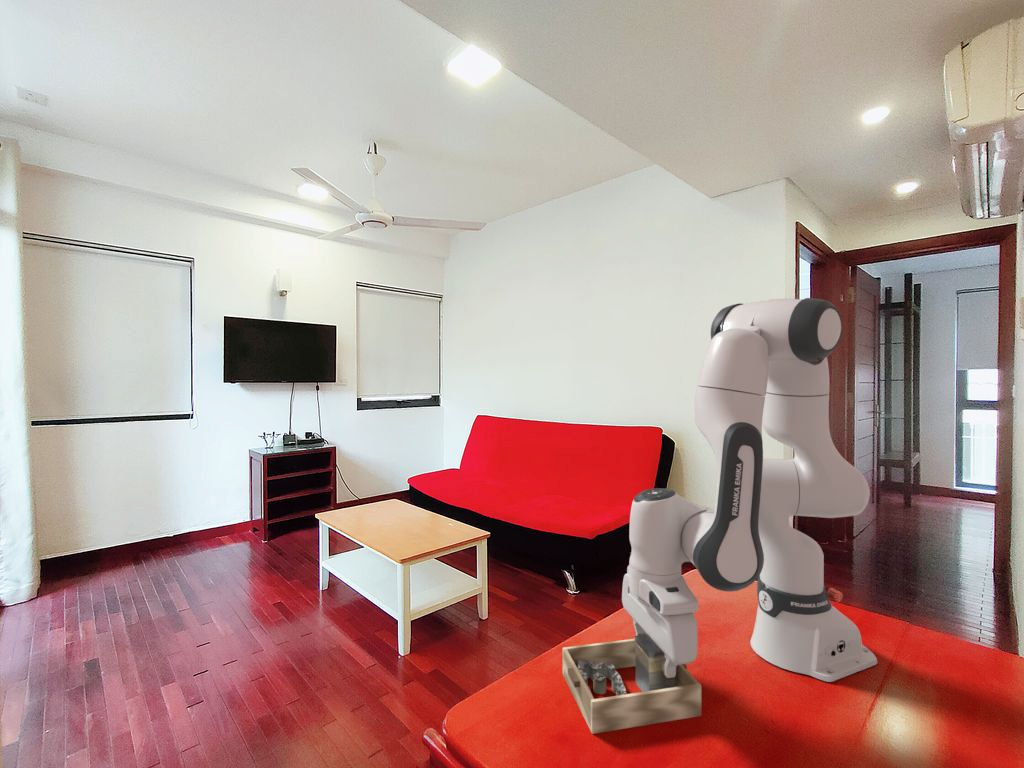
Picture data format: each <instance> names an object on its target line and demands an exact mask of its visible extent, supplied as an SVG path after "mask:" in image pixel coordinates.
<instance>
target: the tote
mask: <svg viewBox="0 0 1024 768" xmlns="http://www.w3.org/2000/svg"><path fill="white" fill-rule="evenodd" d="M635 642H636V641H635V638H630V639H623V640H613V641H606V642H597V643H589V644H581V645H573V646H566V647H565V646H563V647H562V675H563V678H564V679H565V682H566V683H567V686H568V688H569V690H570V692H571V694H572V695H573V699H574V700H575V702H576V704H577V707H578V708H579V710H580V712H581V715H582V717H583V718H584V720H585V722H586V724H587V726H588V728H589V731H590V733H591V734H592V735H594V734H600V733H606V732H611V731H612V732H613V731H619V730H623V729H630V728H636V727H643V726H648V725H654V724H660V723H667V722H673V721H678V720H685V719H691V718H696V717H702V685H701V683H699V681H698V680H697V679H696V678H695V677H694V676H693V675H692V674H691V672H689V671H688V670H687V665H686V664H681V665H677V667H676V676H675V687H672V688H665V689H659V690H652V691H645V692H642V691H641V692H640V691H639V692H634V693H627V694H625V695H619V696H616V695H613V696H606V697H601V698H600V697H599V698H594V696H593V694H592V691H591V689H590V690H589V689H588V687H587V685H588V684H587V685H586V683H585V681H584V679H583V678H582V676H581V674H580V672H579V670H578V660H580V661H583V662H586V663H588V662H589V661H590V662H593V663H594V662H596V663H602V662H604V664H605V665H606V666H609V665H610V664H613V665H614V667H615V670H618V669H624V668H631V667H636V655H635ZM590 691H591V692H590Z"/></svg>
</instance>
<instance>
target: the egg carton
mask: <svg viewBox="0 0 1024 768" xmlns="http://www.w3.org/2000/svg"><path fill="white" fill-rule="evenodd" d="M578 670H579V672H580V674H581V676H582V678H583V679H584V681H585V683H586V685H587V687H588V689H589V690H590V692H591V693H592V691H591V686H589V684H588V683H589V682H588V679H590V680H591V681H592V685H593V686H592V689H593V692H594V693H595V694H598V695H605V694H606V693H607V679H608V680H609V681H611V690H612V692H613V693H615V694H616V695H615V696H619V695H625V694H628V693H627V689H626V686H625V685H624V682H623V680H622V677H621V675H620V674H619V672H618V671H617V670H616V669H615V667H614V665H613V664H610V665H609V666H606V665H605V664H604V662H602V663H596V662H594V663H593V662H590V661H589V662H588V663H586V662H583V661H580V660H578Z"/></svg>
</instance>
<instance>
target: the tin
mask: <svg viewBox="0 0 1024 768" xmlns="http://www.w3.org/2000/svg"><path fill="white" fill-rule="evenodd" d="M646 634H647V633H646ZM634 639H635V641H636V642H635V655H636V666H635V684H636V685H637V687H638V688H639V689H640V690H641V692H645V691H652V690H659V689H665V688H672V687H675V677H672V678H667V677H666V676H665V674H664V673H663V672H662V663H663V662H666V658H665V653H664V652H663V651H662V650H661V649H660V648H659V646H658V645H657V644H656V643H655V642H654V641H653V640H652V639H651V638H650V636H649V635H648V634H647V635H639V636H636V635H635V636H634Z"/></svg>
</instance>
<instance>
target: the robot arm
mask: <svg viewBox="0 0 1024 768" xmlns="http://www.w3.org/2000/svg"><path fill="white" fill-rule="evenodd" d="M842 334H843V320H842V316H841V314H840V311H839V310H838V309H837V307H836V306H835V304H833V303H832V302H831V301H829V300H825V299H821V298H813V297H812V298H811V297H806V298H804V299H800V298H773V299H771V298H770V299H767V300H763V301H762V300H761V301H760V300H759V301H754V302H748V303H742V302H741V303H735V304H731V305H728V306H725V307H723V308H722V309H721V310H719V311H718V312H717V314H716V316H715V317H714V319H713V321H712V323H711V327H710V342H709V345H708V347H707V349H706V352H705V355H704V358H703V361H702V363H701V368H700V372H699V375H698V381H697V385H696V386H697V387H696V392H695V397H694V422H695V425H696V426H697V429H698V430H699V432H700V433H701V434H702V436H703V437H704V438H705V440H706V441H707V442H708V444H709V446H710V447H711V450H712V451H713V454H714V456H715V460H716V464H717V465H716V466H717V478H716V488H715V489H716V490H715V499H714V509H713V508H711V507H708V506H705V505H701V504H698V503H694V502H693V501H690V500H689V499H686V498H684V497H683V496H682V495H679V494H678V493H677V492H676V491H675V490H673V489H670V488H659V487H655V488H649V489H644V490H643V491H641V492H639V493H637V494H636V495H635V496H634V498H633V500H632V502H631V506H630V507H631V508H630V514H629V527H628V528H629V530H628V531H629V532H628V533H629V535H628V537H629V538H628V539H629V544H630V546H631V550H630V551H631V552H630V555H629V562H628V563H629V564H628V565H627V568H626V572H627V573H625V574H624V575H623V579H622V589H621V590H622V591H621V603H622V606H623V607H622V608H623V609H624V610H625V611H626V612H627V613H628V614H629V615H630V617H632V623H633V627H634V631H635V636H639V635H647V634H648V635H649V636H650V638H651V639H652V640H653V641H654V642H655V643H656V644H657V645H658V646H659V648H660V649H661V650H662V651H663V652H664V653H665V658H666V662H663V663H662V672H663V673H664V674H665V676H666V677H667V678H672V677H675V676H676V667H677V665H681V664H685V665H686V664H687V665H688V664H692V663H694V661H695V660H696V659H697V656H698V655H697V654H698V623H697V618H696V615H695V614H694V613H697V612H698V611H699V601H698V598H697V597H696V595H695V594H694V593H693V591H692V590H691V589H690V587H689V586H688V584H687V582H686V580H685V577H684V576H683V575H682V565H683V564H684V563H692V564H693V566H694V567H695V568H696V570H697V571H698V573H699V575H700V576H701V578H702V579H703V580H704V581H705V583H706V584H707V585H709V586H710V587H712V588H714V589H716V590H719V591H721V592H730V593H731V592H738V591H740V590H744V589H745V588H749V586H751V585H752V584H754V583H755V581H757V583H756V586H757V587H756V594H757V601H758V603H757V604H758V605H757V610H756V618H755V623H754V626H753V631H752V635H751V638H750V641H749V642H750V647H751V649H752V650H753V651H754V652H755V653H756V654H757V655H758V656H759V657H761V658H762V659H763V660H765V662H766V661H767V662H768V663H770V664H772V665H774V666H776V667H778V668H781V669H784V670H788V671H791V672H794V673H796V674H797V673H798V674H803V675H807V676H811V677H813V678H815V679H818V680H820V681H823V682H827V683H831V682H835V681H838V680H840V679H843V678H845V677H847V676H850V675H853V674H856V673H857V672H861V671H864V670H866V669H868V668H869V669H870V668H871V667H873V666H876V665H878V659H877V657H876V655H875V654H874V653H873V652H872V651H871V650H870V649H869V648H868V647H867V646H865V645H864V644H863V642H862V635H861V632H860V630H859V628H858V626H857V625H856V624H855V623H854V621H852V620H851V619H850V618H848V616H846V615H844V614H843V613H842V612H841V611H839V610H838V609H837V608H836V607H835V606H834V605H832V603H831V599H832V600H833V601H835V602H838V603H839V602H841V601H842V600H843V597H844V595H843V593H842V591H839V590H837V589H836V588H834V587H829V588H827V587H826V585H824V584H825V583H824V582H825V580H824V579H825V578H824V574H825V571H824V569H825V568H824V567H825V562H824V560H825V558H824V557H825V556H824V552H823V550H822V547H821V546H820V544H818V542H817V541H816V540H814V538H812V537H810V536H809V535H807V534H806V533H803V532H802V531H800V530H798V529H796V528H794V527H792V526H791V525H790V517H794V516H799V517H813V518H824V519H825V518H826V519H836V518H837V519H838V518H845V517H846V518H848V517H854V516H859V515H860V514H861V513H862V512H863V511H864V510H866V507H868V504H869V501H870V496H871V493H870V492H871V491H870V486H869V482H868V481H867V479H866V477H865V476H864V475H863V473H862V472H861V470H859V469H858V468H856V467H855V466H854V465H852V464H851V463H850V462H849V461H847V460H846V459H845V458H844V457H843V456H842V455H841V453H840V452H839V451H838V449H837V448H836V446H835V444H834V442H833V439H832V436H831V431H830V417H829V416H830V415H829V411H830V407H829V405H830V369H829V362H828V361H829V360H828V357H829V356H830V355H831V354H832V353H833V351H834V350H835V349H836V347H838V345H839V343H840V340H841V337H842ZM763 429H764V431H765V433H766V434H767V435H768V436H769V437H771V438H772V439H774V441H775V440H776V441H778V442H779V443H782V445H786V446H787V447H790V448H791V449H793V452H794V456H793V458H791V459H782V458H764V448H763V444H764V443H763V442H764V441H763V432H762V431H763Z"/></svg>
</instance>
